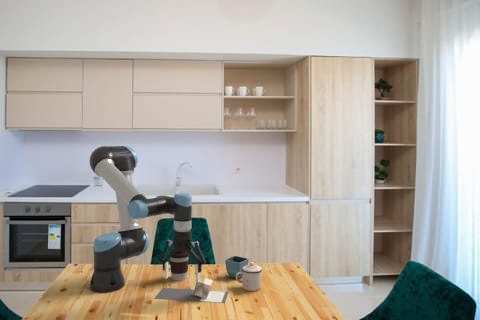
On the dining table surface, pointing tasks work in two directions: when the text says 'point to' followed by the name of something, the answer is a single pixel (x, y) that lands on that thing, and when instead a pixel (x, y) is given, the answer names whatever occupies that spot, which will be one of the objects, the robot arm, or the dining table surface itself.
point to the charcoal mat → (191, 295)
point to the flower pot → (235, 265)
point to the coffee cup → (179, 265)
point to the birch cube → (203, 287)
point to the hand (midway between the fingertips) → (181, 278)
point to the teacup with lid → (251, 277)
